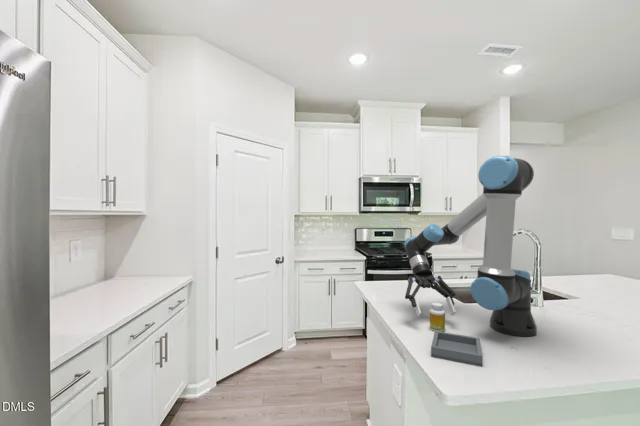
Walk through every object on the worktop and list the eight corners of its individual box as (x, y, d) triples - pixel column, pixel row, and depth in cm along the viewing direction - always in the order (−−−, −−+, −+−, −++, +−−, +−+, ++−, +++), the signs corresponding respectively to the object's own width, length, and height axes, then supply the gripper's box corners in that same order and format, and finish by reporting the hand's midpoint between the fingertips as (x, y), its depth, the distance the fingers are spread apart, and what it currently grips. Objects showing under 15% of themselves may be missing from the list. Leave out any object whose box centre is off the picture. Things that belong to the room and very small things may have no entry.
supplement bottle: (443, 333, 109) (443, 307, 109) (428, 330, 112) (428, 304, 112) (446, 328, 114) (445, 303, 114) (431, 325, 117) (431, 301, 117)
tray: (480, 347, 98) (479, 338, 98) (482, 366, 85) (482, 356, 85) (435, 339, 104) (435, 330, 104) (431, 356, 91) (431, 346, 91)
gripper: (445, 272, 131) (464, 317, 116) (390, 273, 130) (402, 319, 115) (451, 262, 126) (471, 308, 111) (394, 263, 124) (407, 310, 109)
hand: (436, 314), depth 113 cm, fingers open, 13 cm apart
